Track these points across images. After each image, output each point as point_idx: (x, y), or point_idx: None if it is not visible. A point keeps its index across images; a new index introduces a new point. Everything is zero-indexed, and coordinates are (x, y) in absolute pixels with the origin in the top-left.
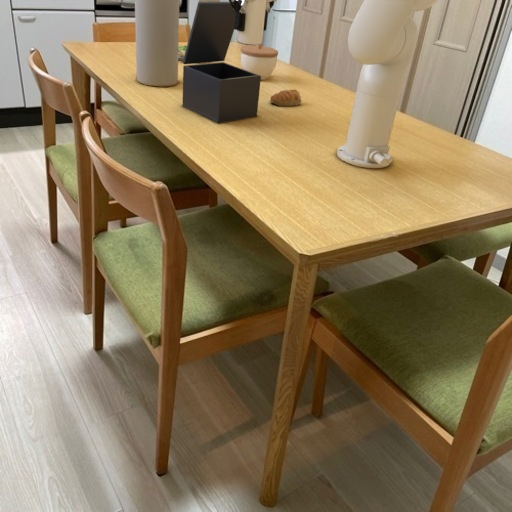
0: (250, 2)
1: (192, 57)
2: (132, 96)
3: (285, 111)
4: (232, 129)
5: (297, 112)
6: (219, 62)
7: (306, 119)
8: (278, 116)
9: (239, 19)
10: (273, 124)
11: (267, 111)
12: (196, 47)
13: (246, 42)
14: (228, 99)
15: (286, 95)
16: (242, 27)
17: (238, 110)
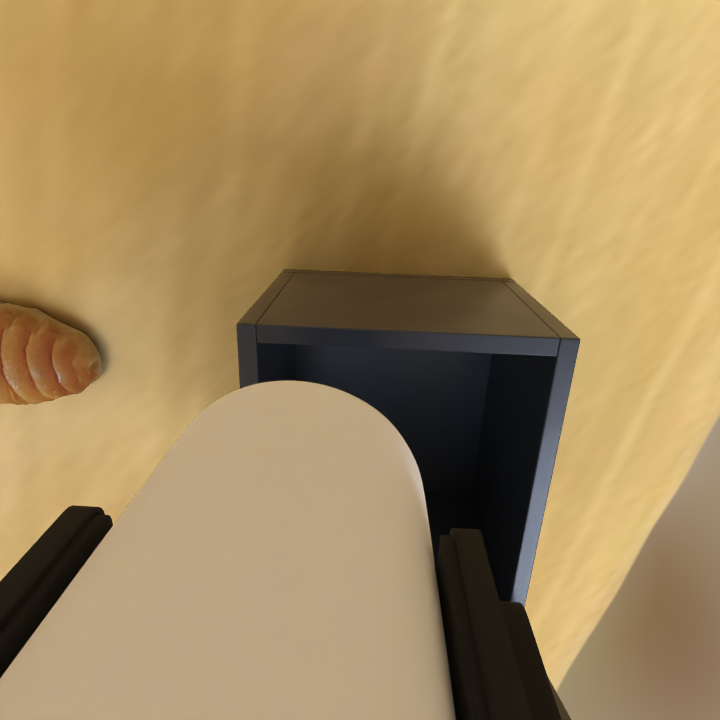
0: None
1: None
2: (552, 638)
3: (100, 260)
4: (516, 187)
5: (48, 221)
6: None
7: (71, 114)
8: (183, 221)
9: (540, 680)
10: (288, 143)
11: (186, 300)
12: None
13: (403, 439)
14: (481, 302)
15: (15, 338)
16: (488, 560)
17: (402, 283)
